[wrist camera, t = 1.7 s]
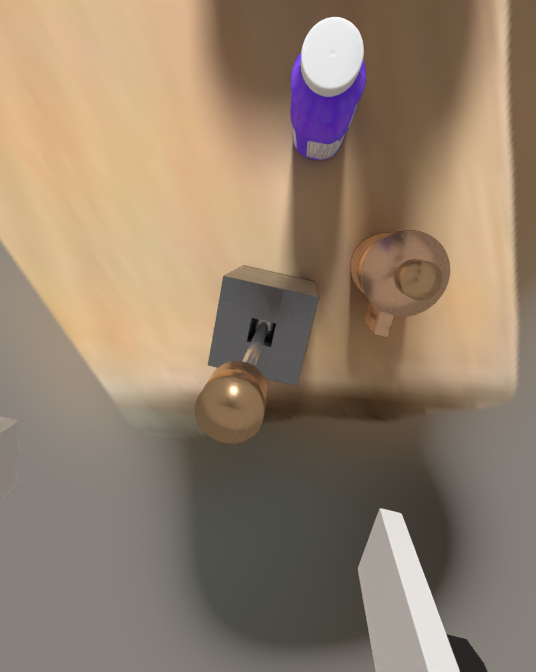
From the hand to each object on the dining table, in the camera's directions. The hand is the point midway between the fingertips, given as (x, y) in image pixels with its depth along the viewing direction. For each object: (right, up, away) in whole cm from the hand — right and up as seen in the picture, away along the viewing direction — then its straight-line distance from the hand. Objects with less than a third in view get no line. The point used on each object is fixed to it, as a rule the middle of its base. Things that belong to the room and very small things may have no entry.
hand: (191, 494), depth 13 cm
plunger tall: (+2, +7, +24) cm, 25 cm away
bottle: (+8, +29, +27) cm, 40 cm away
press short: (+16, +13, +31) cm, 37 cm away
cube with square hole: (+3, +8, +33) cm, 34 cm away
